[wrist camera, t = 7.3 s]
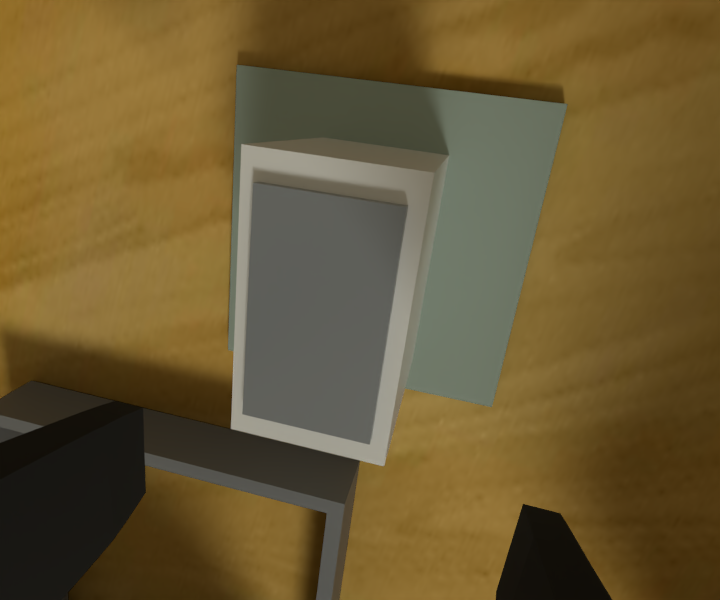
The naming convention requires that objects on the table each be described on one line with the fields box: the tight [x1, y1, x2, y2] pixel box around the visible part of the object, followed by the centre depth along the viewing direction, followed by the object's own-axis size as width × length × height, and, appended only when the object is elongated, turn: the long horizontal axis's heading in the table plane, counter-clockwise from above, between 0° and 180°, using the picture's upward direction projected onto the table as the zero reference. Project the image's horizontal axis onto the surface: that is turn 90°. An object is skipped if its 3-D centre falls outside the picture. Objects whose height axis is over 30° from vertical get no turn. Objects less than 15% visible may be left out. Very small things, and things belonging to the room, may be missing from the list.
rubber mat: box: [228, 65, 567, 407], centre depth 17 cm, size 10×10×1 cm
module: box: [231, 137, 449, 466], centre depth 14 cm, size 4×7×6 cm, turn 173°
